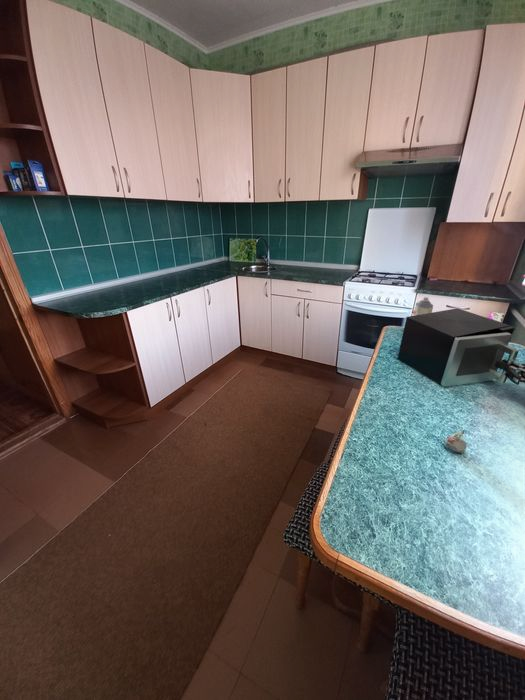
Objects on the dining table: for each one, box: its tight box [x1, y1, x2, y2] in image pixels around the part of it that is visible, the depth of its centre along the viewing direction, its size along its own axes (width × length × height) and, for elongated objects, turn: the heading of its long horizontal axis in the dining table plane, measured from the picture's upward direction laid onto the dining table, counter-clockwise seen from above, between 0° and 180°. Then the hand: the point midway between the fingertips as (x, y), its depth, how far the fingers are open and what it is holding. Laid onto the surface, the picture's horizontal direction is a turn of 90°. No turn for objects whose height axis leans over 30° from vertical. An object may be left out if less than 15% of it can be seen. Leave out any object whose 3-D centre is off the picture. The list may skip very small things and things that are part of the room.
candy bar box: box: [486, 311, 506, 323], centre depth 116 cm, size 11×5×16 cm, turn 137°
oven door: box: [440, 333, 520, 388], centre depth 94 cm, size 8×20×18 cm, turn 100°
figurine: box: [444, 429, 468, 454], centre depth 73 cm, size 5×4×6 cm
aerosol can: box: [412, 296, 434, 316], centre depth 128 cm, size 7×7×20 cm
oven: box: [397, 308, 516, 385], centre depth 107 cm, size 22×26×18 cm
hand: (499, 362), depth 95 cm, fingers closed on oven door, 2 cm apart
